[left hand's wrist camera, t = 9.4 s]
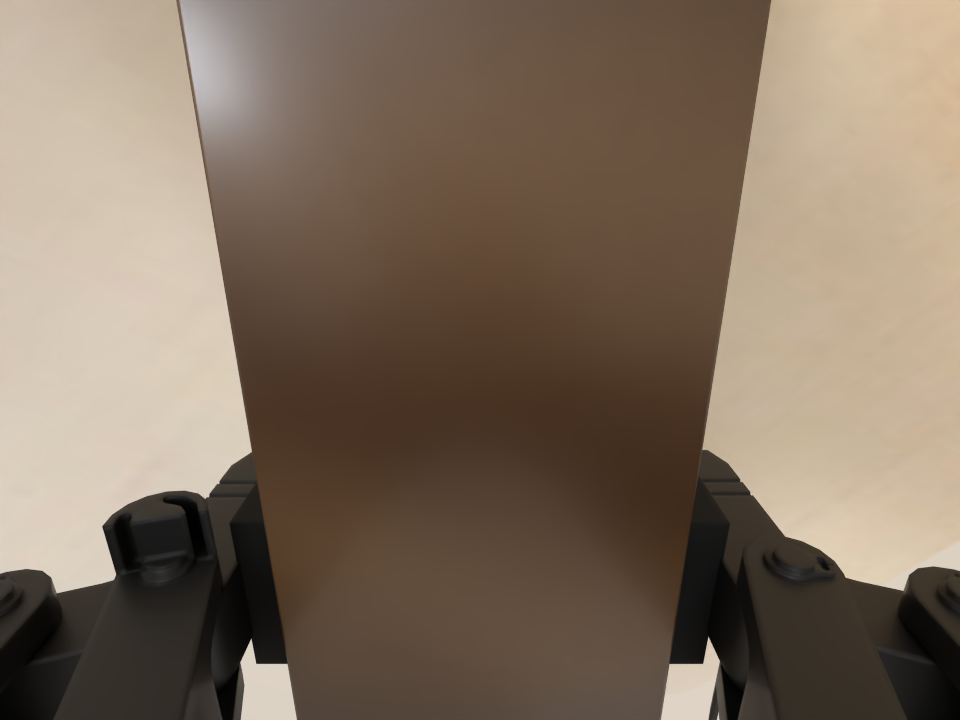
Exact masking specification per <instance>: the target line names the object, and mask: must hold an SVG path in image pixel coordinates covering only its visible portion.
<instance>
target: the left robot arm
mask: <svg viewBox="0 0 960 720" xmlns="http://www.w3.org/2000/svg"><path fill="white" fill-rule="evenodd" d="M102 527H103V530H104V534H105V537H106V541H107V544H108V547H109V551H110V554H111V558H112V561H113V565H114V568H115V571H116V577H115V579H114V580H113V581H110V582H106V583H102V584H98V585H93V586H89V587H84V588H80V589H75V590H70V591H66V592H61V593H56V590H55V588H54V585H53V582H52V579H51V577H50V576H48V575H47V574H46V573H44V572H43V571H38V570H30V569H24V570H17V571H10V572H5V573H2V574H0V720H241V711H242V702H243V693H244V680H243V674H242V669H241V664H240V661H241V660H242V657H243V655H244V653H245V651H246V649H247V647H248V644H249V642H250V640H251V638H252V643H253V648H254V654H255V659H256V663H257V664H288V663H287V657H286V651H285V645H284V639H283V633H282V627H281V621H280V615H279V609H278V603H277V597H276V591H275V585H274V579H273V573H272V567H271V561H270V555H269V549H268V543H267V537H266V531H265V526H264V520H263V514H262V508H261V502H260V496H259V490H258V484H257V478H256V472H255V466H254V460H253V454H252V452H251V453H250V454H248V455H247V456H245V457H244V458H242V459H241V460H239V461H238V462H236V463H235V464H233V465H232V466H231V467H230V468H229V470H228V471H227V472H226V473H225V475H224V476H223V477H222V479H221V480H220V483H219V484H217V485H216V486H215V488H214V489H213V490H212V492H211V493H210V496H209V497H207V498H206V499H204V498H203V497H202V496H201V495H199V494H197V493H193V492H188V491H170V492H163V493H159V494H155V495H150V496H147V497H144V498H142V499H139V500H137V501H135V502H132V503H130V504H128V505H126V506H125V507H123V508H122V509H120V510H119V511H117V512H116V513H114V514H113V515H112V516H111V517H110V518H109V519H108V520H107V522H106V523H105V524H104V525H103V526H102ZM708 636H709V638H710V641H711V643H712V645H713V647H714V649H715V651H716V653H717V656H718V658H719V660H720V664H719V669H718V674H717V678H716V683H715V688H714V693H713V698H712V703H711V707H710V714H709V720H717V716H718V711H719V719H720V720H960V571H957V570H953V569H947V568H940V567H926V568H918V569H916V570H915V571H914V572H913V573H911V574H910V575H909V577H908V580H907V583H906V586H905V589H904V591H901V590H896V589H892V588H887V587H882V586H878V585H873V584H868V583H864V582H859V581H855V580H852V579H848V578H845V576H844V574H843V572H842V571H841V569H840V568H839V567H838V565H837V564H836V563H835V561H834V560H832V559H831V558H830V557H828V556H827V555H826V554H824V553H823V552H822V551H821V550H819V549H817V548H815V547H813V546H811V545H808V544H806V543H804V542H802V541H799V540H795V539H792V538H788V537H785V536H784V535H783V533H782V532H781V531H780V530H779V528H778V527H777V526H776V524H775V523H774V522H773V521H772V519H771V518H770V517H769V515H768V514H767V513H766V512H765V510H764V509H763V508H762V507H761V505H760V504H759V503H758V501H757V500H756V499H755V498H754V496H751V495H750V491H749V490H748V489H747V487H746V486H745V485H744V483H743V482H740V478H739V477H738V476H737V475H736V473H735V472H734V471H733V469H732V468H731V467H730V466H729V464H728V463H726V462H725V461H723V460H722V459H720V458H719V457H717V456H716V455H714V454H713V453H711V452H709V451H708V450H702V454H701V461H700V467H699V474H698V480H697V487H696V493H695V500H694V506H693V513H692V519H691V526H690V532H689V539H688V545H687V552H686V558H685V565H684V571H683V578H682V584H681V591H680V597H679V604H678V610H677V617H676V624H675V630H674V637H673V643H672V650H671V656H670V663H669V664H703V661H704V656H705V651H706V646H707V641H708Z"/></svg>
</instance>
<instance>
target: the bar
mask: <svg viewBox="0 0 960 720" xmlns="http://www.w3.org/2000/svg"><path fill="white" fill-rule="evenodd" d="M176 1H177V7H178V13H179V19H180V25H181V31H182V36H183V42H184V48H185V54H186V60H187V66H188V72H189V78H190V84H191V90H192V96H193V102H194V108H195V114H196V120H197V126H198V132H199V138H200V144H201V150H202V156H203V162H204V168H205V174H206V180H207V186H208V192H209V198H210V203H211V209H212V215H213V221H214V227H215V233H216V239H217V245H218V251H219V257H220V263H221V269H222V275H223V281H224V287H225V293H226V299H227V305H228V311H229V317H230V323H231V329H232V335H233V341H234V347H235V353H236V359H237V364H238V370H239V376H240V382H241V388H242V394H243V400H244V406H245V412H246V418H247V424H248V430H249V436H250V442H251V448H252V454H253V460H254V466H255V472H256V478H257V484H258V490H259V496H260V502H261V508H262V514H263V520H264V526H265V531H266V537H267V543H268V549H269V555H270V561H271V567H272V573H273V579H274V585H275V591H276V597H277V603H278V609H279V615H280V621H281V627H282V633H283V639H284V645H285V651H286V657H287V663H288V669H289V674H290V681H291V687H292V692H293V698H294V704H295V710H296V716H297V720H661V715H662V708H663V702H664V695H665V689H666V682H667V676H668V669H669V663H670V656H671V650H672V643H673V637H674V630H675V624H676V617H677V610H678V604H679V597H680V591H681V584H682V578H683V571H684V565H685V558H686V552H687V545H688V539H689V532H690V526H691V519H692V513H693V506H694V500H695V493H696V487H697V480H698V474H699V467H700V461H701V454H702V447H703V441H704V434H705V428H706V421H707V415H708V408H709V402H710V395H711V389H712V382H713V376H714V369H715V363H716V356H717V350H718V343H719V337H720V330H721V324H722V317H723V311H724V304H725V298H726V291H727V284H728V278H729V271H730V265H731V258H732V252H733V245H734V239H735V232H736V226H737V219H738V213H739V206H740V200H741V193H742V187H743V180H744V174H745V167H746V161H747V154H748V148H749V141H750V135H751V128H752V122H753V115H754V108H755V102H756V95H757V89H758V82H759V76H760V69H761V63H762V56H763V50H764V43H765V37H766V30H767V24H768V17H769V11H770V4H771V0H176Z"/></svg>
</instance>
